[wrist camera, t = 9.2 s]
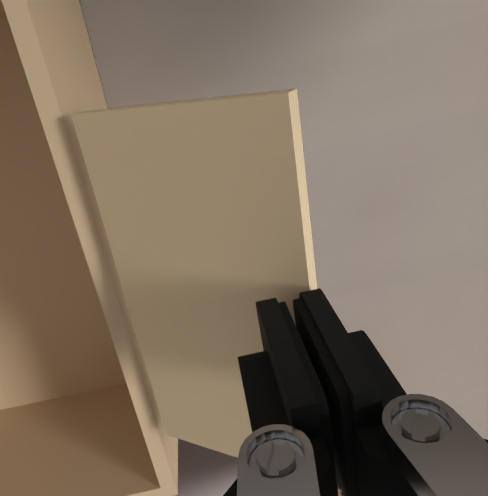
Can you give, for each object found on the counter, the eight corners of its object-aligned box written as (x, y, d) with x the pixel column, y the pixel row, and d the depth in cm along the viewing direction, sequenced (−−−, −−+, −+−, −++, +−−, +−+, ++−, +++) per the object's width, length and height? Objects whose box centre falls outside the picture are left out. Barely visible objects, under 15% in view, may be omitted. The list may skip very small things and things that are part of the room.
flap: (174, 425, 18) (336, 475, 15) (166, 434, 18) (331, 488, 15) (83, 110, 13) (296, 89, 10) (70, 114, 13) (288, 92, 10)
